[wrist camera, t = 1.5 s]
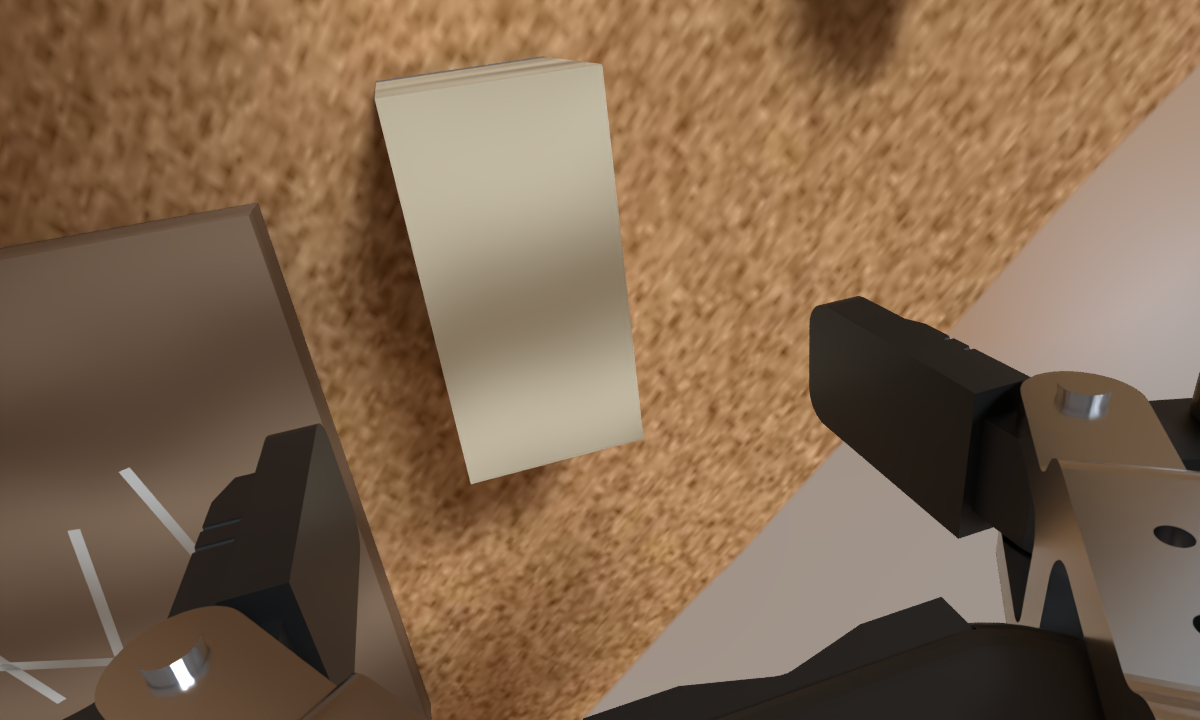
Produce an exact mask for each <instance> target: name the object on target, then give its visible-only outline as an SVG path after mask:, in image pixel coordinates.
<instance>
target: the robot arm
mask: <svg viewBox="0 0 1200 720" xmlns="http://www.w3.org/2000/svg"><path fill="white" fill-rule="evenodd" d="M809 390H810V397H811V402H812V405H813V408H814V410H815V412H816V414H817V416H818V417H819V419H820V420H821V422H822V423H823V424H824V425H825V426H827V427H828V428H829V429H830V430H831V431H832V432H834V433H835V434H836V435H837V436H838V437H839V438H841V439H842V440H843V441H844V442H845V443H847V444H848V445H849V446H850V447H851V448H853V449H854V450H855V451H856V452H857V453H858V454H859V455H861V456H862V457H863V458H864V459H865V460H867V461H868V462H869V463H870V464H871V465H872V466H874V467H875V468H876V469H877V470H878V471H879V472H881V473H882V474H883V475H884V476H885V477H886V478H888V479H889V480H890V481H891V482H892V483H893V484H895V485H896V486H897V487H898V488H899V489H901V490H902V491H903V492H904V493H905V494H906V495H908V496H909V497H910V498H911V499H912V500H914V501H915V502H916V503H917V504H918V505H919V506H920V507H922V508H923V509H924V510H925V511H926V512H928V513H929V514H930V515H931V516H932V517H933V518H935V519H936V520H937V521H938V522H939V523H941V524H942V525H943V526H944V527H945V528H946V529H948V530H949V531H950V532H951V533H953V535H955V536H956V537H957V538H958V539H959V538H962V537H965V536H968V535H971V534H974V533H977V532H980V531H983V530H986V529H990V528H992V527H994V528H995V529H997V530H998V531H999V533H998V540H997V546H996V557H997V563H998V570H999V578H1000V584H1001V591H1002V597H1003V605H1004V612H1005V619H1006V623H967V622H966V621H965V620H964V619H963V618H962V617H961V616H960V615H959V614H958V613H957V612H956V611H955V610H954V609H953V608H952V607H951V606H950V605H949V604H948V603H947V602H946V601H945V600H944V599H943V598H942V597H940V598H937V599H934V600H931V601H928V602H925V603H922V604H919V605H916V606H913V607H910V608H907V609H904V610H901V611H898V612H895V613H892V614H890V615H887V616H884V617H881V618H878V619H875V620H872V621H869V622H866V623H863V624H860V625H859V626H857V627H856V628H854V629H853V630H851V631H850V632H848V633H847V634H845V635H844V636H843V637H841V638H840V639H838V640H837V641H835V642H834V643H832V644H831V645H829V646H828V647H826V648H825V649H823V650H822V651H821V652H819V653H818V654H816V655H815V656H813V657H812V658H810V659H809V660H807V661H806V662H805V663H803V664H801V665H800V666H799V667H797V668H796V669H794V670H792V671H791V672H789V673H787V674H784V675H781V676H775V677H766V678H756V679H746V680H736V681H726V682H716V683H706V684H696V685H686V686H678V687H675V688H672V689H669V690H666V691H663V692H660V693H657V694H654V695H651V696H649V697H645V698H642V699H640V700H637V701H634V702H631V703H628V704H625V705H622V706H619V707H616V708H613V709H610V710H607V711H604V712H602V713H598V714H595V715H592V716H589V717H586V718H584V719H583V720H1200V373H1199V377H1198V380H1197V384H1196V387H1195V391H1194V395H1193V398H1185V399H1170V400H1156V401H1148V400H1147V398H1146V397H1145V396H1144V395H1143V394H1142V393H1141V392H1140V391H1138V390H1137V389H1135V388H1134V387H1132V386H1130V385H1128V384H1126V383H1123V382H1121V381H1118V380H1115V379H1112V378H1109V377H1105V376H1101V375H1096V374H1090V373H1084V372H1073V371H1060V372H1048V373H1043V374H1038V375H1035V376H1033V377H1029V376H1027V375H1025V374H1023V373H1021V372H1019V371H1017V370H1015V369H1013V368H1011V367H1009V366H1007V365H1005V364H1003V363H1002V362H1000V361H997V360H996V359H994V358H992V357H990V356H987V355H986V354H984V353H982V352H980V351H978V350H976V349H969V346H968V345H966V344H964V343H962V342H960V341H958V340H956V339H950V338H949V336H948V335H946V334H944V333H942V332H940V331H938V330H937V329H935V328H933V327H931V326H929V325H927V324H924V323H920V322H916V321H912V320H908V319H904V318H902V317H900V316H899V315H897V314H895V313H893V312H891V311H889V310H887V309H885V308H883V307H881V306H879V305H877V304H875V303H873V302H871V301H870V300H868V299H866V298H864V297H861V296H856V297H852V298H848V299H844V300H839V301H835V302H831V303H827V304H823V305H818V306H816V307H815V308H814V309H813V311H812V313H811V316H810V349H809ZM202 528H203V531H202V532H200V534H199V537H198V539H197V542H196V544H195V547H194V548H195V552H194V553H192V555H191V558H190V560H189V563H188V565H187V568H186V571H185V573H184V576H183V579H182V581H181V584H180V587H179V589H178V592H177V594H176V597H175V600H174V602H173V605H172V608H171V610H170V613H169V616H168V618H167V619H166V620H164V621H162V622H160V623H158V624H156V625H155V626H153V627H151V628H150V629H148V630H146V631H145V632H144V633H142V634H141V635H139V636H138V637H137V638H135V639H134V640H133V641H131V642H130V643H129V644H128V645H127V646H126V647H124V648H123V649H122V650H121V651H120V652H119V653H118V654H117V655H116V656H115V657H114V658H113V660H112V661H111V662H110V663H109V665H108V666H107V667H106V669H105V670H104V672H103V673H102V675H101V677H100V679H99V681H98V684H97V686H96V690H95V696H94V699H95V702H94V703H92V704H91V705H89V706H87V707H85V708H84V709H82V710H80V711H78V712H76V713H74V714H72V715H70V716H68V717H66V718H65V719H63V720H427V719H426V718H425V717H423V716H422V715H420V714H419V713H418V712H416V711H415V710H414V709H412V708H411V707H409V706H408V705H407V704H405V703H404V702H402V701H401V700H400V699H398V698H397V697H396V696H394V695H393V694H391V693H390V692H389V691H387V690H386V689H384V688H383V687H382V686H380V685H379V684H378V683H376V682H375V681H373V680H372V679H370V678H369V677H367V676H365V675H363V674H360V673H354V672H355V650H356V629H357V607H358V586H359V565H360V539H359V532H358V526H357V521H356V517H355V513H354V510H353V507H352V504H351V501H350V498H349V495H348V492H347V489H346V487H345V484H344V481H343V478H342V475H341V472H340V469H339V466H338V463H337V461H336V458H335V455H334V452H333V449H332V446H331V443H330V440H329V438H328V435H327V433H326V431H325V429H324V427H323V426H322V425H321V424H320V423H318V424H314V425H310V426H306V427H301V428H297V429H293V430H289V431H285V432H280V433H276V434H272V435H268V436H267V437H266V438H265V441H264V444H263V448H262V451H261V454H260V458H259V461H258V464H257V467H256V471H255V473H251V474H247V475H243V476H239V477H235V478H234V479H233V480H232V481H231V482H230V483H229V484H228V485H227V486H226V488H225V489H224V490H223V491H222V492H221V493H220V494H219V495H218V496H217V497H216V498H215V499H214V500H213V501H212V502H211V505H210V508H209V510H208V513H207V515H206V518H205V521H204V523H203V526H202Z"/></svg>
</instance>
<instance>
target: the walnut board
mask: <svg viewBox="0 0 1200 720" xmlns="http://www.w3.org/2000/svg"><path fill="white" fill-rule="evenodd" d="M318 423H320V424H321V425H322V426H323V427H324V429H325V431H326V433H327V435H328V438H329V440H330V443H331V446H332V449H333V452H334V455H335V458H336V461H337V463H338V466H339V469H340V472H341V475H342V478H343V481H344V484H345V487H346V489H347V492H348V495H349V498H350V501H351V504H352V507H353V510H354V513H355V517H356V521H357V526H358V532H359V539H360V565H359V586H358V607H357V629H356V650H355V672H354V673H360V674H363V675H365V676H367V677H369V678H370V679H372V680H373V681H375V682H376V683H378V684H379V685H380V686H382V687H383V688H384V689H386V690H387V691H389V692H390V693H391V694H393V695H394V696H396V697H397V698H398V699H400V700H401V701H402V702H404V703H405V704H407V705H408V706H409V707H411V708H412V709H414V710H415V711H416V712H418V713H419V714H420V715H422V716H423V717H425V718H426V719H427V720H431V706H430V701H429V698H428V696H427V693H426V690H425V687H424V684H423V681H422V678H421V675H420V672H419V669H418V666H417V664H416V661H415V658H414V655H413V652H412V649H411V646H410V643H409V640H408V637H407V635H406V632H405V629H404V626H403V623H402V620H401V617H400V614H399V611H398V608H397V606H396V603H395V600H394V597H393V594H392V591H391V588H390V585H389V582H388V579H387V576H386V574H385V571H384V568H383V565H382V562H381V559H380V556H379V553H378V550H377V547H376V545H375V542H374V539H373V536H372V533H371V530H370V527H369V524H368V521H367V518H366V516H365V513H364V510H363V507H362V504H361V501H360V498H359V495H358V492H357V489H356V487H355V484H354V481H353V478H352V475H351V472H350V469H349V466H348V463H347V460H346V457H345V455H344V452H343V449H342V446H341V443H340V440H339V437H338V434H337V431H336V428H335V426H334V423H333V420H332V417H331V414H330V411H329V408H328V405H327V402H326V399H325V397H324V394H323V391H322V388H321V385H320V382H319V379H318V376H317V373H316V370H315V368H314V365H313V362H312V359H311V356H310V353H309V350H308V347H307V344H306V341H305V338H304V336H303V333H302V330H301V327H300V324H299V321H298V318H297V315H296V312H295V309H294V307H293V304H292V301H291V298H290V295H289V292H288V289H287V286H286V283H285V280H284V278H283V275H282V272H281V269H280V266H279V263H278V260H277V257H276V254H275V251H274V249H273V246H272V243H271V240H270V237H269V234H268V231H267V228H266V225H265V222H264V219H263V217H262V214H261V211H260V208H259V205H258V203H253V204H248V205H242V206H236V207H231V208H225V209H219V210H214V211H208V212H203V213H197V214H191V215H186V216H180V217H174V218H169V219H163V220H158V221H152V222H146V223H141V224H135V225H129V226H124V227H118V228H113V229H107V230H101V231H96V232H90V233H84V234H79V235H73V236H67V237H62V238H56V239H51V240H45V241H39V242H34V243H28V244H22V245H17V246H11V247H6V248H0V720H63V719H65V718H66V717H68V716H70V715H72V714H74V713H76V712H78V711H80V710H82V709H84V708H85V707H87V706H89V705H91V704H92V703H94V702H95V699H94V696H95V690H96V686H97V684H98V681H99V679H100V677H101V675H102V673H103V672H104V670H105V669H106V667H107V666H108V665H109V663H110V662H111V661H112V660H113V658H114V657H115V656H116V655H117V654H118V653H119V652H120V651H121V650H122V649H123V648H124V647H126V646H127V645H128V644H129V643H130V642H131V641H133V640H134V639H135V638H137V637H138V636H139V635H141V634H142V633H144V632H145V631H146V630H148V629H150V628H151V627H153V626H155V625H156V624H158V623H160V622H162V621H164V620H166V619H167V618H168V616H169V613H170V610H171V608H172V605H173V602H174V600H175V597H176V594H177V592H178V589H179V587H180V584H181V581H182V579H183V576H184V573H185V571H186V568H187V565H188V563H189V560H190V558H191V555H192V553H194V552H195V548H194V547H195V544H196V542H197V539H198V537H199V534H200V532H202V531H203V528H202V526H203V523H204V521H205V518H206V515H207V513H208V510H209V508H210V505H211V502H212V501H213V500H214V499H215V498H216V497H217V496H218V495H219V494H220V493H221V492H222V491H223V490H224V489H225V488H226V486H227V485H228V484H229V483H230V482H231V481H232V480H233V479H234V478H235V477H239V476H243V475H247V474H251V473H255V471H256V467H257V464H258V461H259V458H260V454H261V451H262V448H263V444H264V441H265V438H266V437H267V436H268V435H272V434H276V433H280V432H285V431H289V430H293V429H297V428H301V427H306V426H310V425H314V424H318Z"/></svg>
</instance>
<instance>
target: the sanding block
mask: <svg viewBox="0 0 1200 720" xmlns="http://www.w3.org/2000/svg"><path fill="white" fill-rule="evenodd" d="M375 103H376V107H377V111H378V115H379V119H380V123H381V127H382V131H383V135H384V139H385V143H386V147H387V151H388V155H389V159H390V163H391V167H392V171H393V175H394V179H395V183H396V187H397V191H398V195H399V199H400V203H401V207H402V211H403V215H404V219H405V223H406V227H407V231H408V235H409V239H410V243H411V247H412V251H413V255H414V259H415V263H416V267H417V271H418V275H419V279H420V283H421V287H422V291H423V295H424V299H425V303H426V307H427V311H428V315H429V319H430V323H431V327H432V331H433V335H434V339H435V343H436V347H437V351H438V355H439V359H440V363H441V367H442V371H443V375H444V379H445V383H446V387H447V391H448V395H449V399H450V403H451V407H452V411H453V415H454V419H455V423H456V427H457V431H458V435H459V439H460V443H461V447H462V451H463V455H464V459H465V463H466V467H467V471H468V475H469V479H470V483H471V484H474V483H478V482H481V481H485V480H489V479H493V478H497V477H500V476H504V475H508V474H512V473H516V472H519V471H523V470H527V469H531V468H534V467H538V466H542V465H546V464H550V463H553V462H557V461H561V460H565V459H569V458H572V457H576V456H580V455H584V454H588V453H591V452H595V451H599V450H603V449H607V448H610V447H614V446H618V445H622V444H625V443H629V442H633V441H637V440H641V439H643V430H642V421H641V412H640V403H639V394H638V385H637V376H636V367H635V358H634V349H633V340H632V331H631V322H630V313H629V303H628V294H627V285H626V276H625V267H624V258H623V249H622V240H621V231H620V222H619V213H618V204H617V195H616V186H615V177H614V168H613V159H612V150H611V141H610V132H609V123H608V114H607V105H606V96H605V87H604V78H603V69H602V64H596V63H588V62H581V61H573V60H566V59H558V58H550V57H536V58H529V59H523V60H516V61H509V62H502V63H496V64H489V65H482V66H475V67H468V68H462V69H455V70H448V71H441V72H435V73H428V74H421V75H414V76H408V77H401V78H394V79H387V80H381V81H376V88H375Z"/></svg>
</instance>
